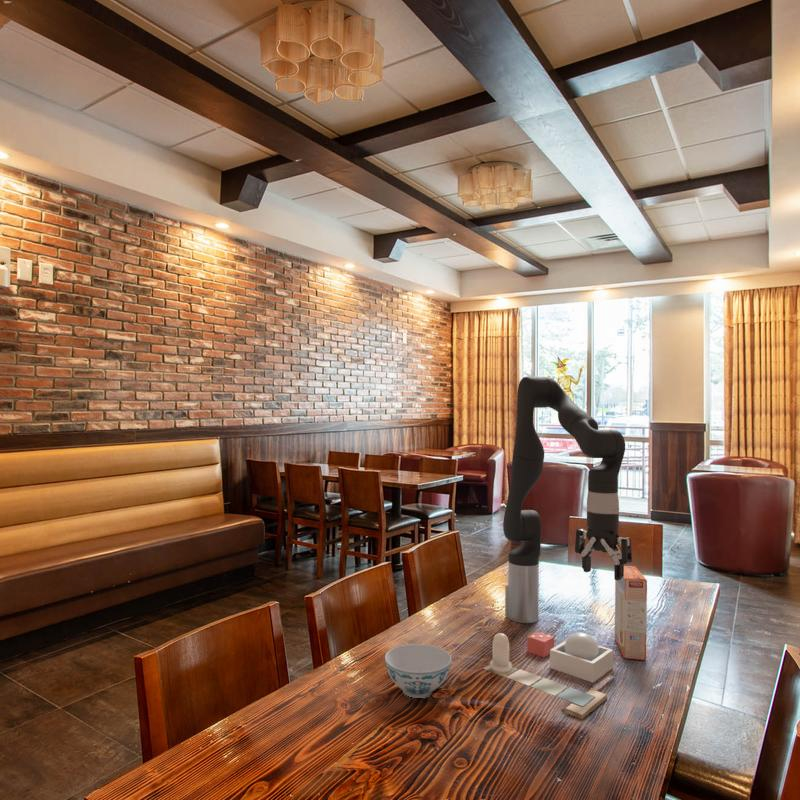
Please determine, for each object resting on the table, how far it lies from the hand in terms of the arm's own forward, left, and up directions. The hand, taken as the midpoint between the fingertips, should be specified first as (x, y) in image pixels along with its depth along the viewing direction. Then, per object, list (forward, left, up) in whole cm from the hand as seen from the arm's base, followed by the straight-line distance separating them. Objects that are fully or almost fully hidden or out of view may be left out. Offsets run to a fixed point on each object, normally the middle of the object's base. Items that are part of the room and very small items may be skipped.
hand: (602, 575), depth 142 cm
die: (-15, -3, -23) cm, 28 cm away
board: (-7, -19, -23) cm, 31 cm away
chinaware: (-25, -40, -23) cm, 53 cm away
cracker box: (0, +18, -23) cm, 29 cm away
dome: (-3, -5, -22) cm, 22 cm away
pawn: (-17, -19, -22) cm, 34 cm away
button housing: (-3, -5, -23) cm, 24 cm away
